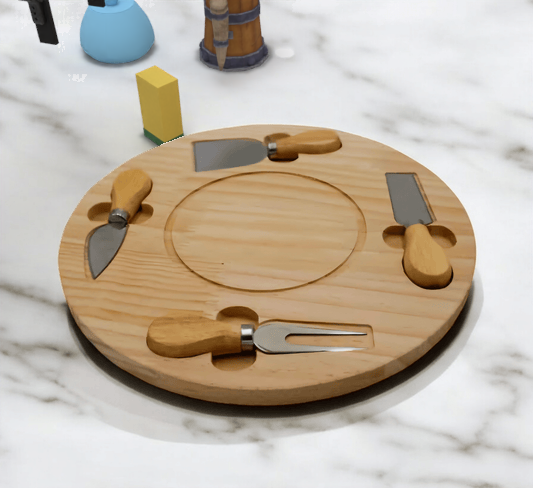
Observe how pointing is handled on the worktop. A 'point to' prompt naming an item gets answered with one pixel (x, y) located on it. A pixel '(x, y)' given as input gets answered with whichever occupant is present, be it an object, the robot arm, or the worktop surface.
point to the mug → (232, 35)
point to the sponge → (159, 105)
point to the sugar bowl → (116, 32)
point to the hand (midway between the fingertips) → (74, 23)
